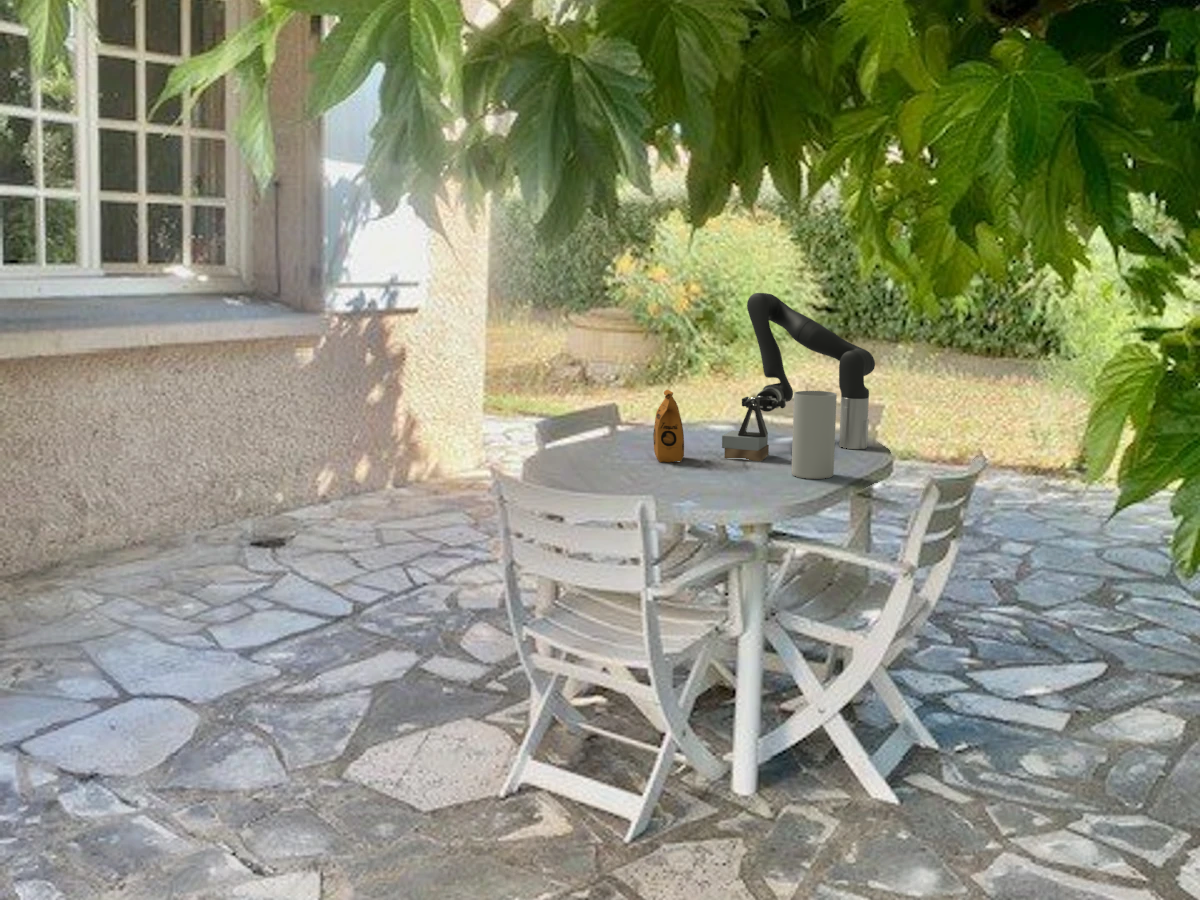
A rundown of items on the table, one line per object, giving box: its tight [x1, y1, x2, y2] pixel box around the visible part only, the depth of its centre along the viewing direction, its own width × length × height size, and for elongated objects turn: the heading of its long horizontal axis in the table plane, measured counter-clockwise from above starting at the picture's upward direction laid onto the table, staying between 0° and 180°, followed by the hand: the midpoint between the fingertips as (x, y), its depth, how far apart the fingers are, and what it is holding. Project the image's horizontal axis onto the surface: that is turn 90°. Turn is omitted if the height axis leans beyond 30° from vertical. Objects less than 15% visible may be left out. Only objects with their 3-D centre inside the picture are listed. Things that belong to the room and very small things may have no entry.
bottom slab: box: [723, 444, 770, 462], centre depth 409 cm, size 12×12×4 cm
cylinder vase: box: [791, 390, 838, 480], centre depth 376 cm, size 12×12×25 cm
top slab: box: [721, 429, 769, 451], centre depth 408 cm, size 12×12×4 cm
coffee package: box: [652, 389, 685, 463], centre depth 402 cm, size 10×12×22 cm
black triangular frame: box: [738, 396, 769, 437], centre depth 405 cm, size 9×6×12 cm, turn 76°
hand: (760, 405), depth 412 cm, fingers open, 8 cm apart
